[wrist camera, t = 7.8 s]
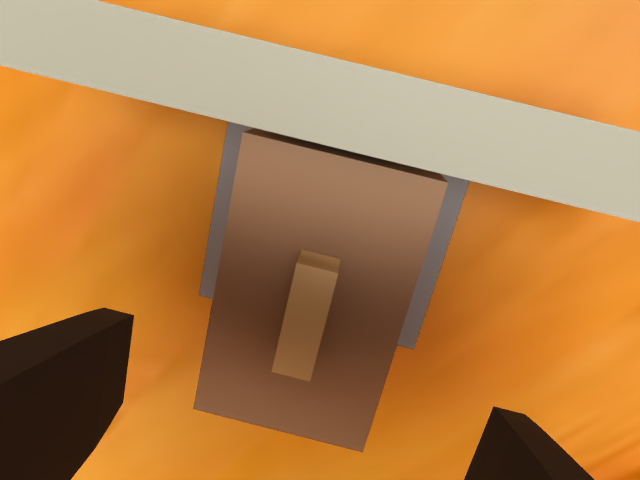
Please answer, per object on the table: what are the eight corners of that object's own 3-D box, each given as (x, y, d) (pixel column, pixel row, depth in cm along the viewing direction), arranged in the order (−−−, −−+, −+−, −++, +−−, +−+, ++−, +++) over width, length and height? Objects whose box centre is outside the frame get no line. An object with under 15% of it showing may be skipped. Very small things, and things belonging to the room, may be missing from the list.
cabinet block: (363, 346, 20) (362, 479, 13) (243, 316, 20) (180, 432, 13) (420, 152, 17) (456, 190, 10) (283, 118, 17) (231, 135, 11)
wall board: (512, 359, 19) (586, 492, 13) (108, 258, 19) (-16, 338, 13) (604, 133, 16) (754, 159, 10) (133, 19, 17) (-9, -26, 10)
